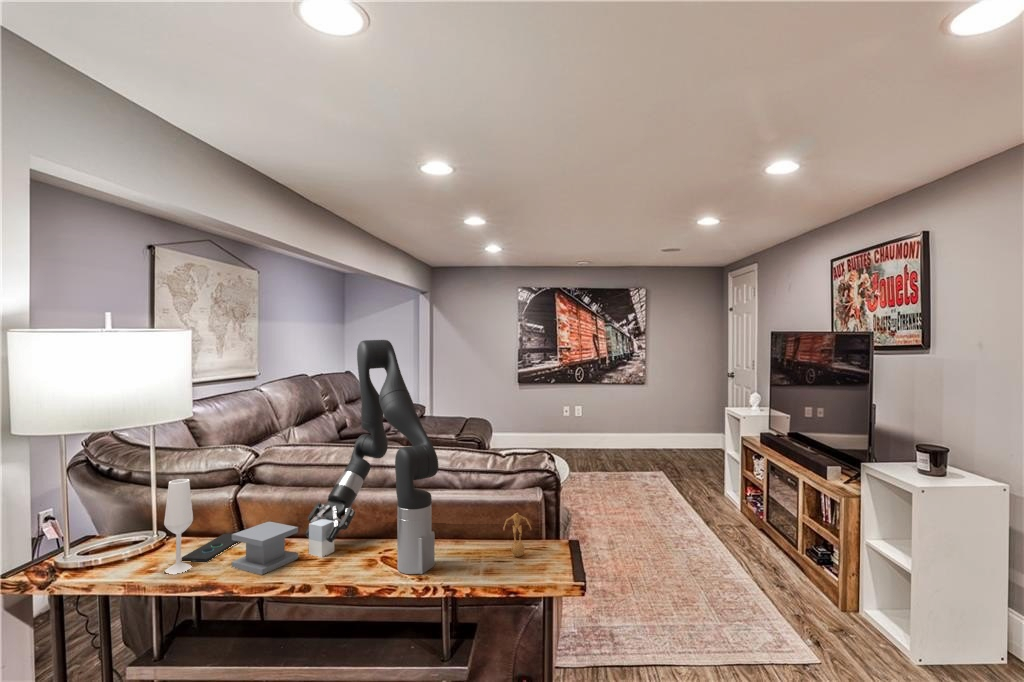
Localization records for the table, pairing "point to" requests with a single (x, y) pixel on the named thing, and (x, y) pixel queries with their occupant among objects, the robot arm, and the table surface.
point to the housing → (320, 538)
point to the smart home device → (210, 549)
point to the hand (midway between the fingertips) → (318, 538)
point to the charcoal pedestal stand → (265, 547)
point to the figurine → (518, 547)
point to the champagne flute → (178, 518)
